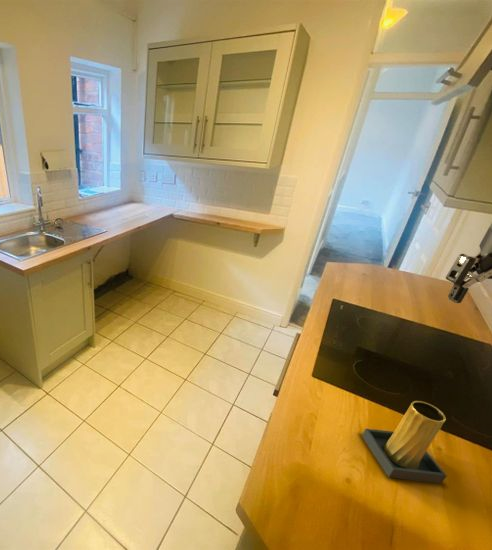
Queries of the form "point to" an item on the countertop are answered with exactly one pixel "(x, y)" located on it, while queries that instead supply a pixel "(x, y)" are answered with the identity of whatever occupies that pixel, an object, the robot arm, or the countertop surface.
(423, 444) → the vase
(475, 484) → the countertop surface
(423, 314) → the countertop surface
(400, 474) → the tray
